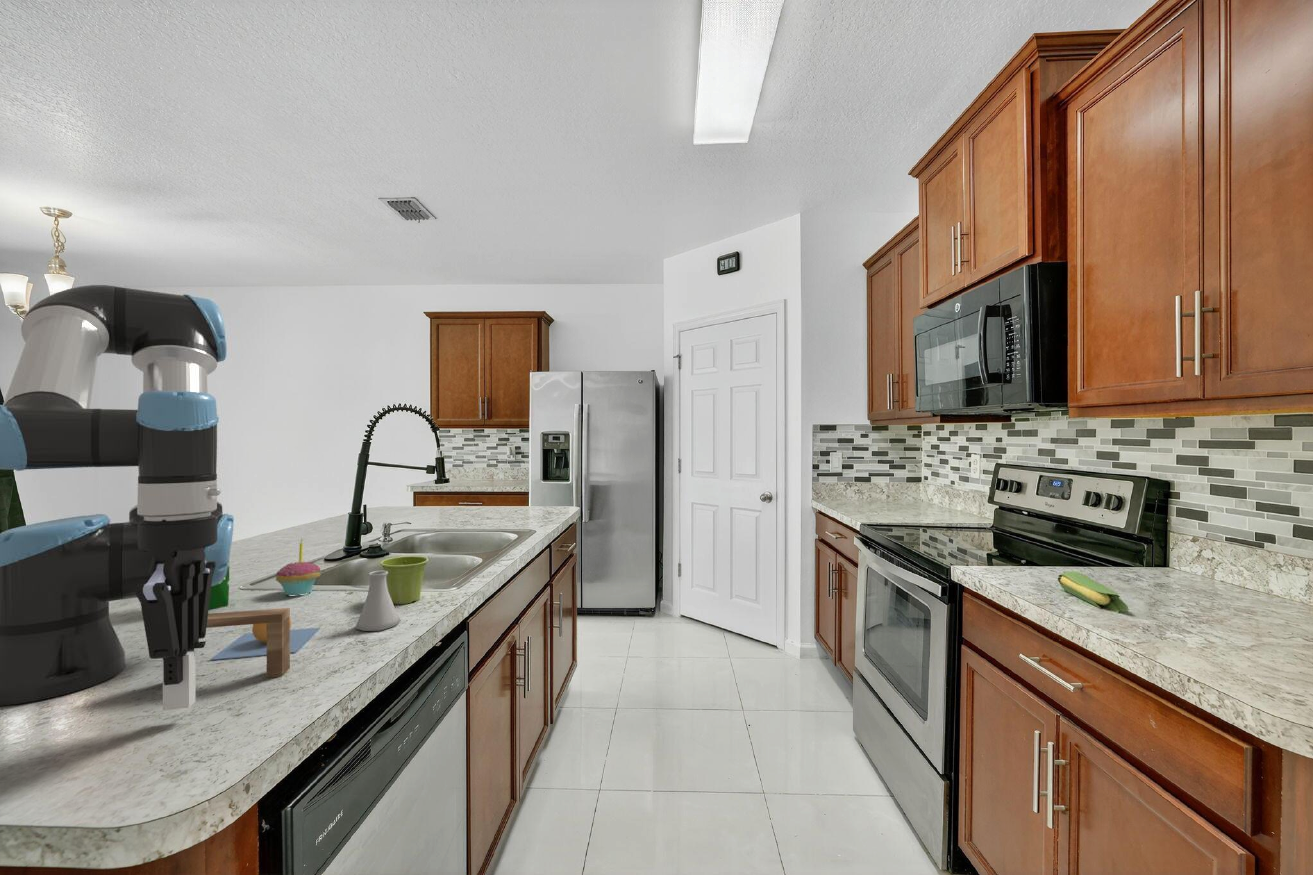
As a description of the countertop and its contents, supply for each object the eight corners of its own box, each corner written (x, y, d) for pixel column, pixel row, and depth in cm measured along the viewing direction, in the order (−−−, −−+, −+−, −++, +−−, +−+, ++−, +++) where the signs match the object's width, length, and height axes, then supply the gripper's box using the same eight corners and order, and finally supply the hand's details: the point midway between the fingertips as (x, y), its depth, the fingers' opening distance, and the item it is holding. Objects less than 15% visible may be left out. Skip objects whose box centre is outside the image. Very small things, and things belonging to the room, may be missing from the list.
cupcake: (283, 590, 128) (283, 538, 128) (325, 587, 131) (325, 536, 131) (270, 600, 120) (270, 545, 120) (315, 597, 123) (314, 542, 123)
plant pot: (428, 592, 126) (428, 554, 126) (427, 604, 117) (427, 563, 117) (382, 597, 123) (382, 557, 123) (378, 609, 114) (378, 567, 114)
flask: (382, 633, 100) (381, 578, 100) (346, 631, 101) (346, 576, 101) (407, 620, 107) (407, 568, 107) (374, 618, 108) (374, 567, 108)
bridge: (282, 676, 82) (282, 613, 82) (164, 687, 78) (164, 622, 78) (289, 667, 85) (289, 607, 85) (176, 678, 81) (176, 615, 81)
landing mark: (209, 660, 88) (209, 659, 88) (244, 634, 99) (244, 633, 99) (296, 652, 91) (296, 651, 91) (319, 628, 103) (319, 627, 103)
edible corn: (1079, 571, 128) (1058, 564, 129) (1136, 598, 109) (1111, 590, 109) (1071, 591, 129) (1050, 585, 130) (1127, 623, 109) (1102, 615, 110)
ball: (262, 633, 98) (248, 651, 93) (258, 605, 97) (244, 621, 92) (297, 630, 100) (285, 647, 94) (294, 602, 98) (282, 618, 93)
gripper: (185, 522, 64) (186, 728, 64) (238, 508, 76) (238, 680, 76) (105, 525, 62) (105, 737, 62) (173, 510, 74) (173, 686, 74)
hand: (179, 705), depth 69 cm, fingers closed
